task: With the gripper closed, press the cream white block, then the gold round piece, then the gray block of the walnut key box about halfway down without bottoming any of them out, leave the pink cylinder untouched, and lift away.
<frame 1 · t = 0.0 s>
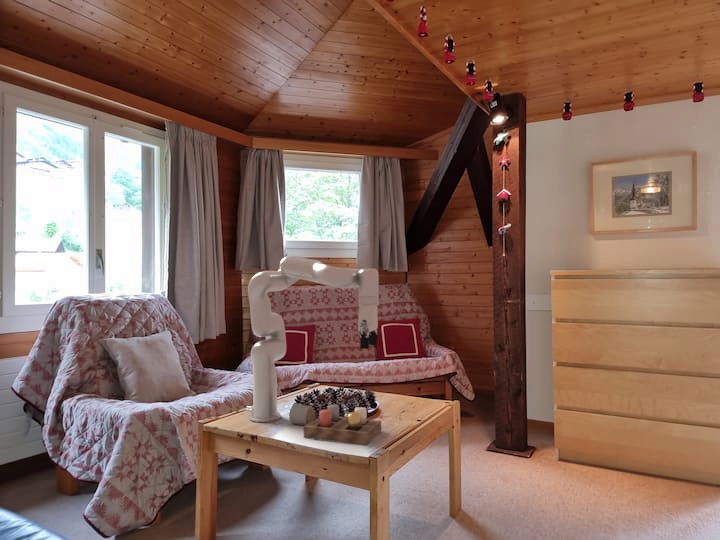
hand: (368, 346, 194), 31 cm above the table, tool pointing down, fingers open, 9 cm apart
pink cylinder: (325, 418, 186), point 6 cm above the table, slide at 0.0 cm
key box: (343, 434, 188), on the table
gold round piece: (353, 421, 183), point 6 cm above the table, slide at 0.0 cm
cream white block: (360, 415, 189), point 6 cm above the table, slide at 0.0 cm
ceramic mug: (303, 423, 202), on the table
gray block: (333, 413, 193), point 6 cm above the table, slide at 0.0 cm
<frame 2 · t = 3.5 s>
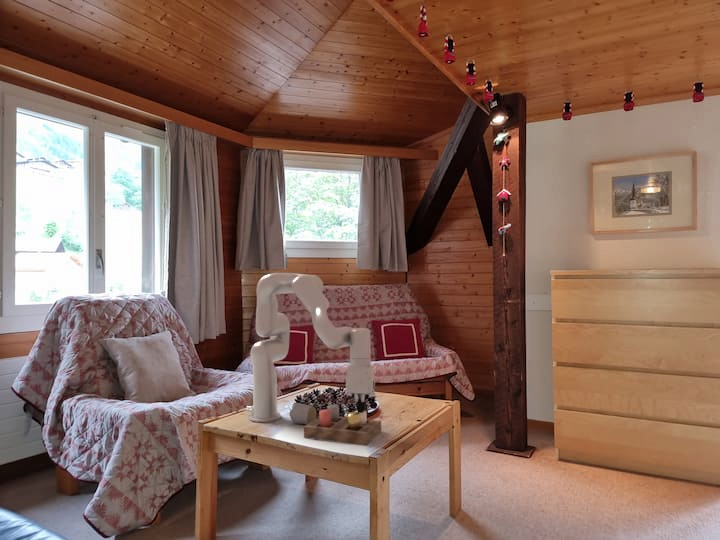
hand: (361, 411, 189), 8 cm above the table, tool pointing down, fingers closed
cream white block: (360, 418, 189), point 5 cm above the table, slide at 1.1 cm, touching gripper
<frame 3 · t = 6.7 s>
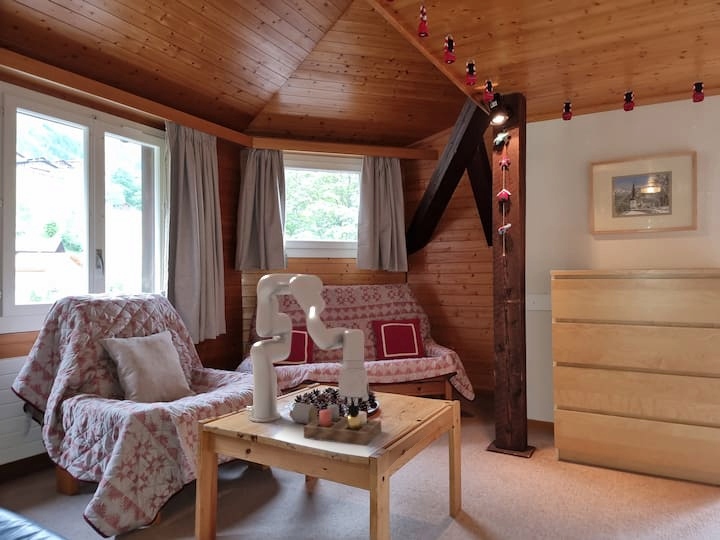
hand: (354, 415, 182), 8 cm above the table, tool pointing down, fingers closed
gold round piece: (353, 423, 183), point 6 cm above the table, slide at 0.7 cm, touching gripper
cream white block: (360, 419, 189), point 5 cm above the table, slide at 1.5 cm
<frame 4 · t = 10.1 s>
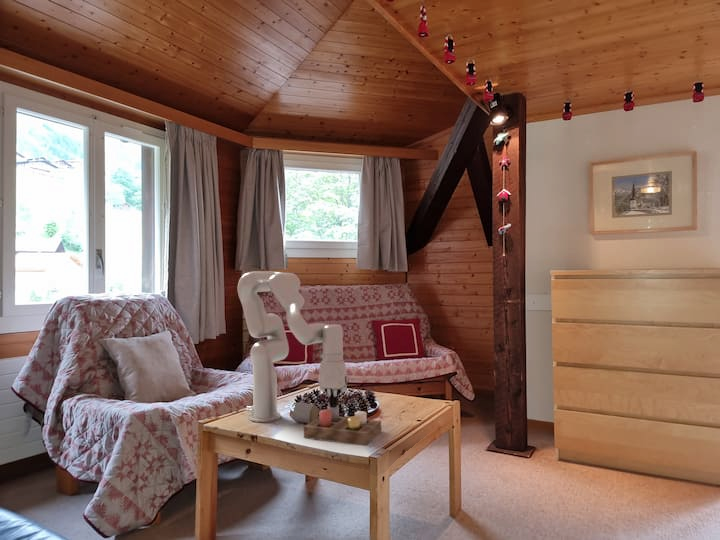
hand: (333, 406, 193), 9 cm above the table, tool pointing down, fingers closed
gold round piece: (353, 425, 183), point 5 cm above the table, slide at 1.5 cm
gray block: (333, 413, 193), point 6 cm above the table, slide at 0.1 cm, touching gripper
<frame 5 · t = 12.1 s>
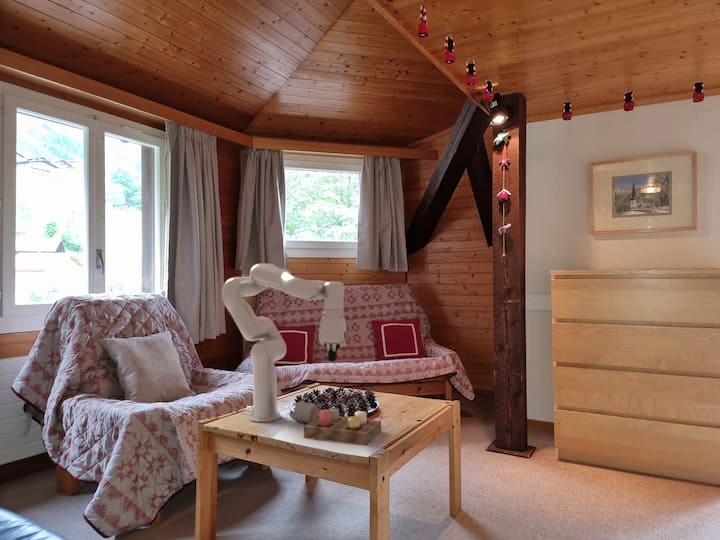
hand: (332, 360, 199), 25 cm above the table, tool pointing down, fingers closed
gray block: (333, 417, 193), point 5 cm above the table, slide at 1.5 cm
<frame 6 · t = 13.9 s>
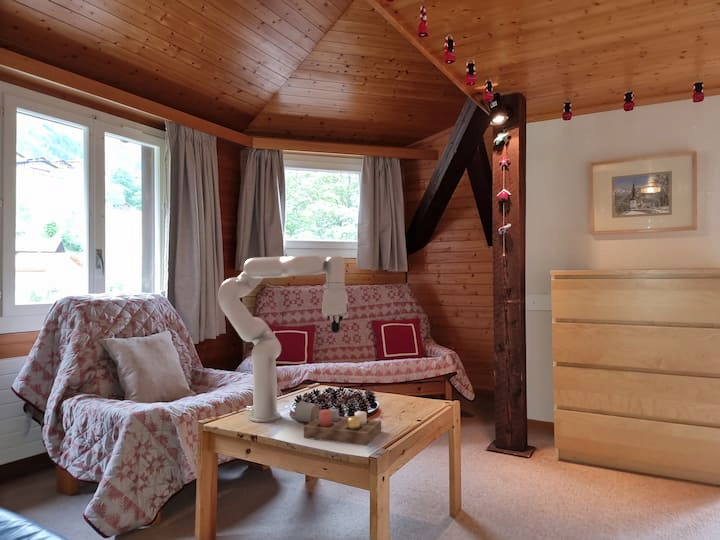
hand: (335, 332, 207), 35 cm above the table, tool pointing down, fingers closed
at the end: cream white block slide at 1.5 cm; gold round piece slide at 1.5 cm; gray block slide at 1.5 cm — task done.
